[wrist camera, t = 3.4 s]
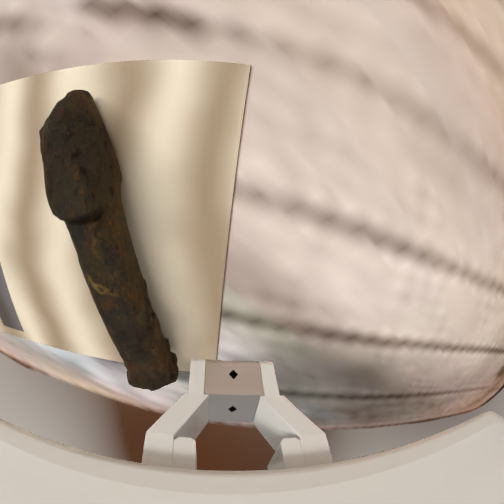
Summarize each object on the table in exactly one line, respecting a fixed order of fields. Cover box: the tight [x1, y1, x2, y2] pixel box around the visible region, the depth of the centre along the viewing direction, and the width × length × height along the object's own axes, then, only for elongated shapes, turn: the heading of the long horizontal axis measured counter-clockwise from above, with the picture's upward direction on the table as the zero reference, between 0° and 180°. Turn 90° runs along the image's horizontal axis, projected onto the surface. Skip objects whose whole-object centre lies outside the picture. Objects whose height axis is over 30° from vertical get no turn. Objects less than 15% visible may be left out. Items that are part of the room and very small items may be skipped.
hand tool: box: [39, 90, 179, 391], centre depth 15 cm, size 19×4×5 cm, turn 2°
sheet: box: [0, 60, 251, 372], centre depth 16 cm, size 28×22×1 cm
